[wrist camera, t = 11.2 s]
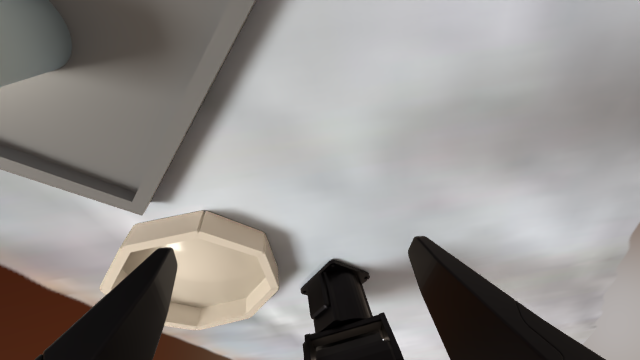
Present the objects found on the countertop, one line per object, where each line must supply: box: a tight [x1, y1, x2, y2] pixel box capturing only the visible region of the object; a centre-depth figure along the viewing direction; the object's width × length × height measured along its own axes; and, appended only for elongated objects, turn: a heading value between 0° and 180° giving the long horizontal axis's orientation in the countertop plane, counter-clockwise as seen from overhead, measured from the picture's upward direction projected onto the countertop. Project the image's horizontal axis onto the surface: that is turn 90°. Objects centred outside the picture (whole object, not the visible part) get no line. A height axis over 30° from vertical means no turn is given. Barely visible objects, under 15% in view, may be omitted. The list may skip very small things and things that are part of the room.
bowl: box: [100, 210, 279, 330], centre depth 25 cm, size 15×15×2 cm
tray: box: [0, 0, 256, 215], centre depth 13 cm, size 18×18×2 cm
